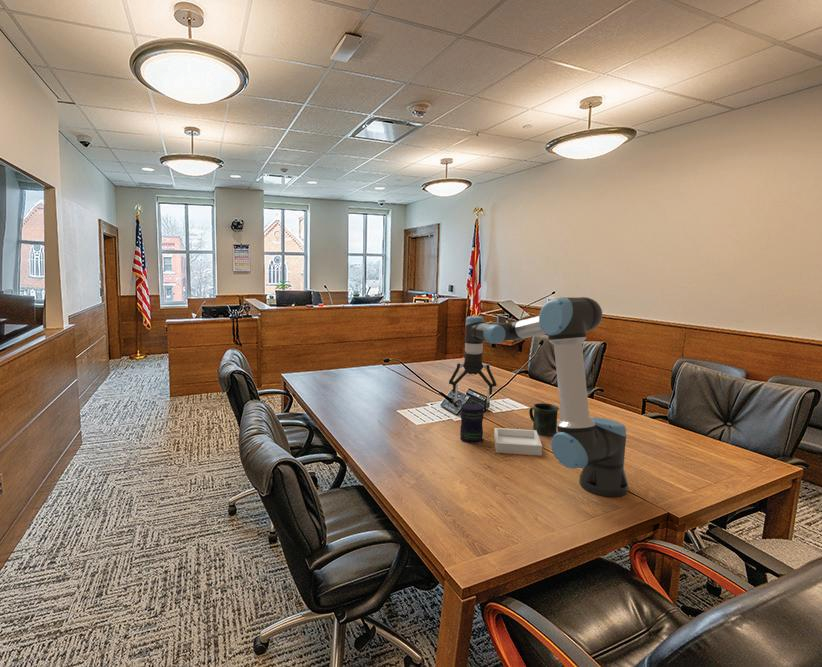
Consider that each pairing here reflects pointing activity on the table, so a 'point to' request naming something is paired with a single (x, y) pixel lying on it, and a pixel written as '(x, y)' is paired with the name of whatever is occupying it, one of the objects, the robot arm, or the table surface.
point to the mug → (544, 418)
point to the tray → (517, 441)
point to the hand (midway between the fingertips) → (471, 400)
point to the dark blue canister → (471, 422)
